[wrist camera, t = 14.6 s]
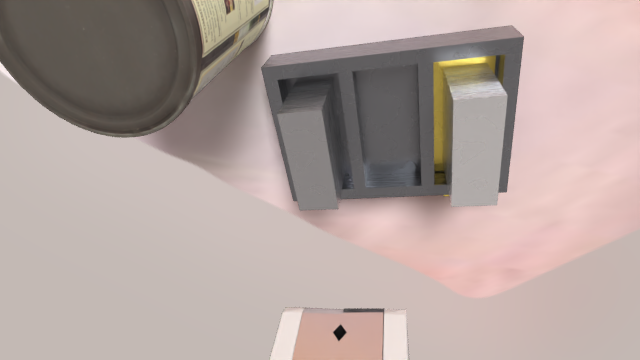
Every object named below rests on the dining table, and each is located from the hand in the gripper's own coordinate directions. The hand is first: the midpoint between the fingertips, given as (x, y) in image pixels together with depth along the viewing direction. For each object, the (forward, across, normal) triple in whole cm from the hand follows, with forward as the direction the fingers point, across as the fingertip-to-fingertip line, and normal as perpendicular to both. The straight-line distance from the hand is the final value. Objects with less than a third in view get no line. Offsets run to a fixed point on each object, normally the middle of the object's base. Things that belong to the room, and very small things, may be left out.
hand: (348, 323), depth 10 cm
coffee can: (+24, +12, -6) cm, 28 cm away
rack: (+24, -1, +6) cm, 25 cm away
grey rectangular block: (+23, -6, +6) cm, 24 cm away
